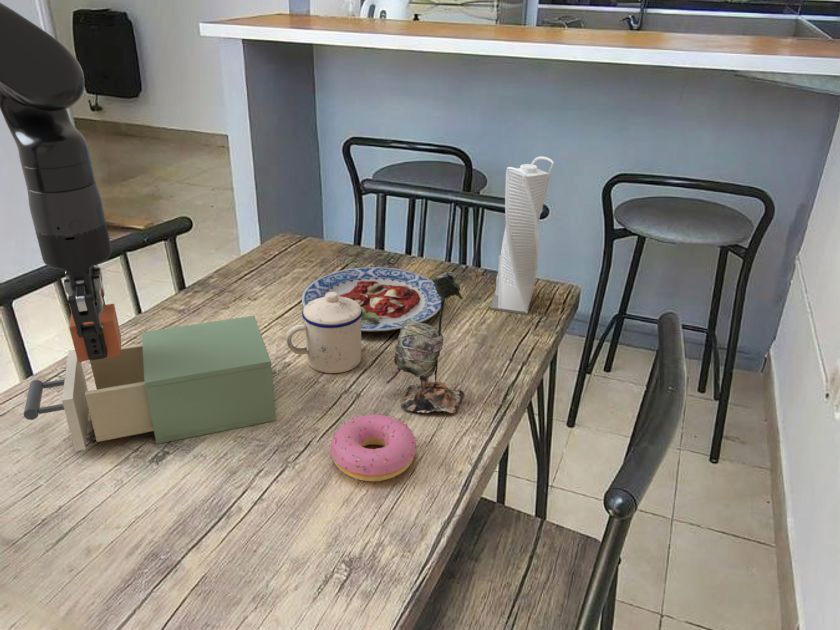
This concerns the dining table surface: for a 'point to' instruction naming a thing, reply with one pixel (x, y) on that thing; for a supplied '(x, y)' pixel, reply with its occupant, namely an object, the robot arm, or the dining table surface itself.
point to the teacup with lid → (330, 333)
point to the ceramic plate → (380, 295)
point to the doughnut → (373, 461)
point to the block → (109, 331)
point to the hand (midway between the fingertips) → (99, 346)
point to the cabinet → (207, 378)
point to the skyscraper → (520, 237)
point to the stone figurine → (426, 357)
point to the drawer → (100, 397)
